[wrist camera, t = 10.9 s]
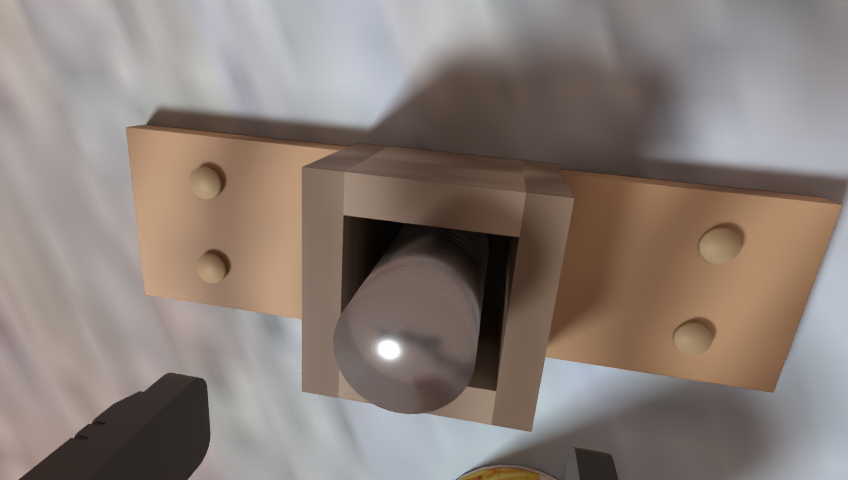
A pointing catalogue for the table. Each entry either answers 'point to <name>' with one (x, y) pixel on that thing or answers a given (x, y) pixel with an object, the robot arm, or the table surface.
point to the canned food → (505, 473)
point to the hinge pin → (416, 320)
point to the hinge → (526, 266)
